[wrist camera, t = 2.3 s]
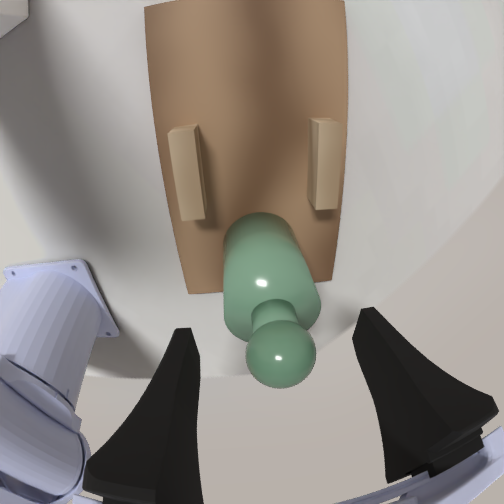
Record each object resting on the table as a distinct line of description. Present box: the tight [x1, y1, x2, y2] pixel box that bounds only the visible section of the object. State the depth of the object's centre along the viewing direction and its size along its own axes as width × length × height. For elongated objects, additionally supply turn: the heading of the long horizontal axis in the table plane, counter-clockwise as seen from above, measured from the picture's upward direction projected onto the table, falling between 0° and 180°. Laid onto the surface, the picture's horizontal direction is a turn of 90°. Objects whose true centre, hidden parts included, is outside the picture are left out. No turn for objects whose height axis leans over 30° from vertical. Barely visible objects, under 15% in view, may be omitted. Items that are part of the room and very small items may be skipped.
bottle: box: [223, 212, 321, 388], centre depth 13 cm, size 4×4×9 cm
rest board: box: [144, 0, 348, 294], centre depth 14 cm, size 10×18×2 cm, turn 3°
